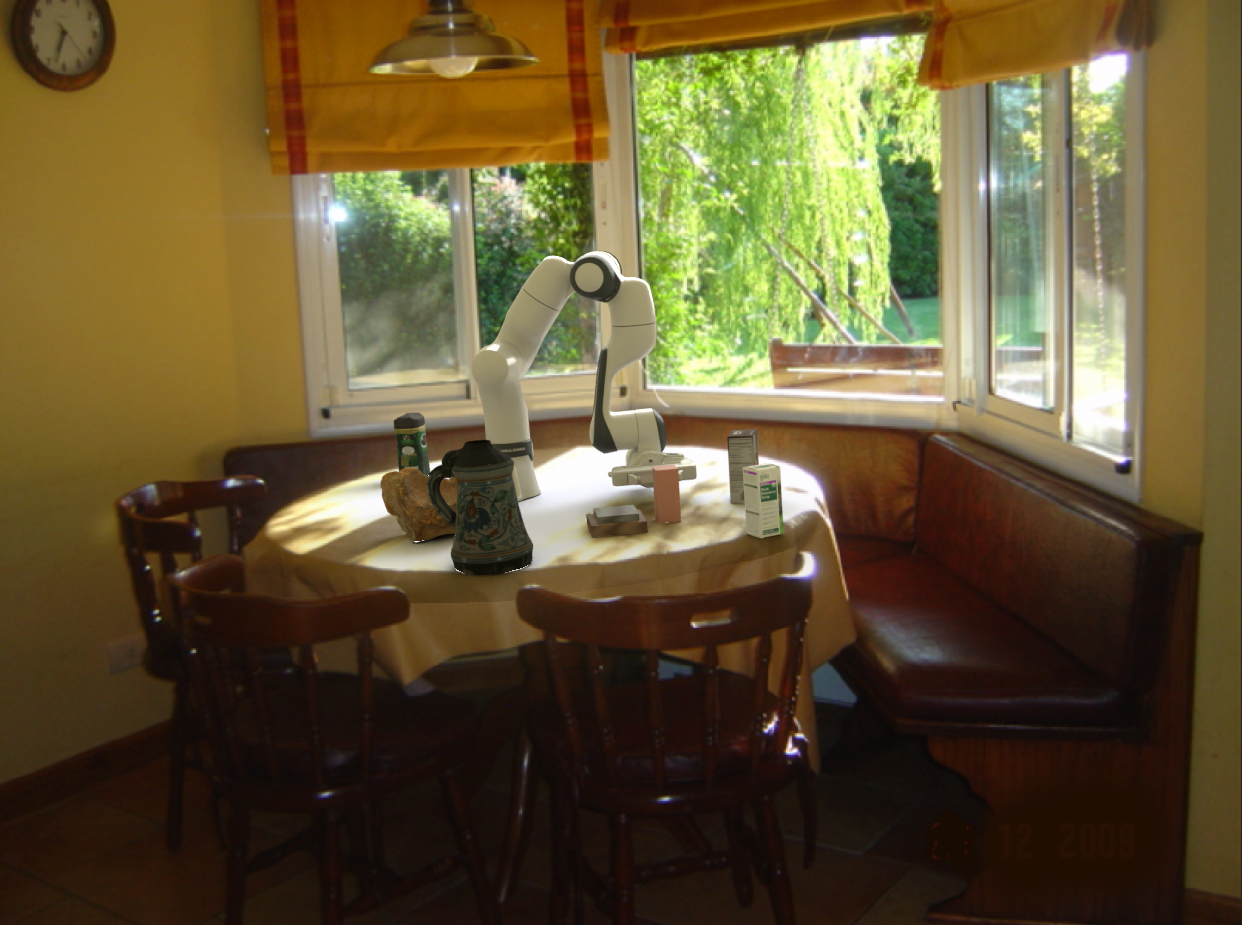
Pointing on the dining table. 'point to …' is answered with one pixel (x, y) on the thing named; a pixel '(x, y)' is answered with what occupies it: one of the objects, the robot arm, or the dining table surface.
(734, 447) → the coffee box
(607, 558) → the dining table surface
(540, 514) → the dining table surface
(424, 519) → the rough brown rock
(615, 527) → the podium
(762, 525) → the syrup box
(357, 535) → the dining table surface
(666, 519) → the carton
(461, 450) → the beer stein
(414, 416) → the coffee jar
